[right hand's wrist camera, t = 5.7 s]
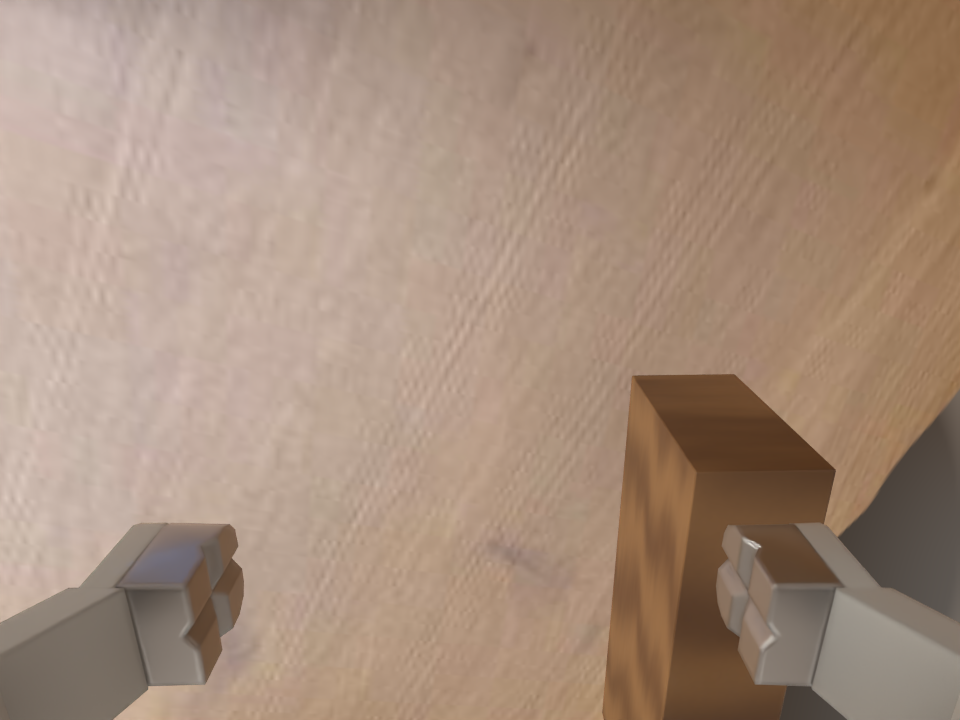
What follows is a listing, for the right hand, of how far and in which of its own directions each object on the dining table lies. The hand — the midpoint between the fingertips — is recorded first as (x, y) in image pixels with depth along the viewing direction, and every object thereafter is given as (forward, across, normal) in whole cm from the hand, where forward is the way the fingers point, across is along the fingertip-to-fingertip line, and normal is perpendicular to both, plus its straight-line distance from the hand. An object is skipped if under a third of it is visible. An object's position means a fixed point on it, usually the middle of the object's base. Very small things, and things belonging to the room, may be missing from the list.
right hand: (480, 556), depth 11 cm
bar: (+21, +10, -17) cm, 29 cm away
